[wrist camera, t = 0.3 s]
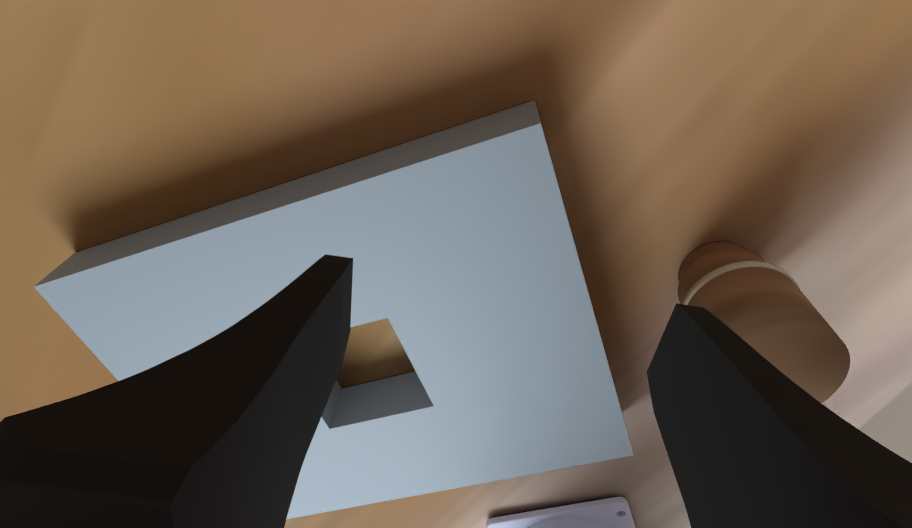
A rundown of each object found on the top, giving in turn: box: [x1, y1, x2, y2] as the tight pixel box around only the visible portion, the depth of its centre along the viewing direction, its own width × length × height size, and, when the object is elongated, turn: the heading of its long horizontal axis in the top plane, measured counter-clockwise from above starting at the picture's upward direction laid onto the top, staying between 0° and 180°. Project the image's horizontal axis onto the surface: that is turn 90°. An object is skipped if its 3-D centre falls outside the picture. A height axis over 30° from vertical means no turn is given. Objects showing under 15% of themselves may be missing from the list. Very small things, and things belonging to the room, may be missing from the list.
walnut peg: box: [678, 241, 850, 403], centre depth 20 cm, size 4×4×6 cm
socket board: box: [34, 100, 634, 519], centre depth 24 cm, size 16×20×2 cm
